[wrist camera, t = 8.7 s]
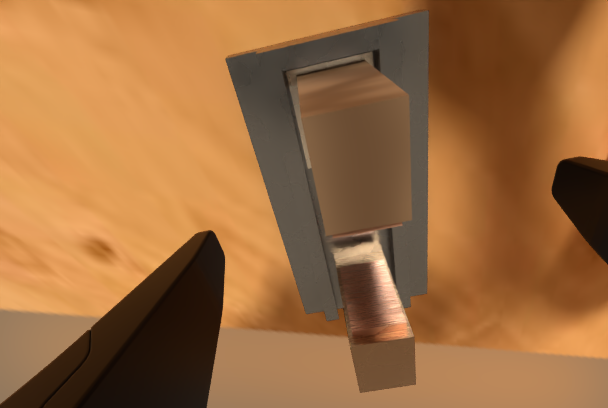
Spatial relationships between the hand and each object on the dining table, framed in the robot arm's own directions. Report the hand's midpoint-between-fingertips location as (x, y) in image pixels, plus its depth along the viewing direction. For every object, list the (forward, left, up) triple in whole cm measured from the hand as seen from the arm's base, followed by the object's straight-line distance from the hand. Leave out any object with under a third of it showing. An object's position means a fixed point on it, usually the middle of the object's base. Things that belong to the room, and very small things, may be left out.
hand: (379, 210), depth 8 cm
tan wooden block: (0, +1, -10) cm, 10 cm away
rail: (0, +7, -11) cm, 13 cm away
